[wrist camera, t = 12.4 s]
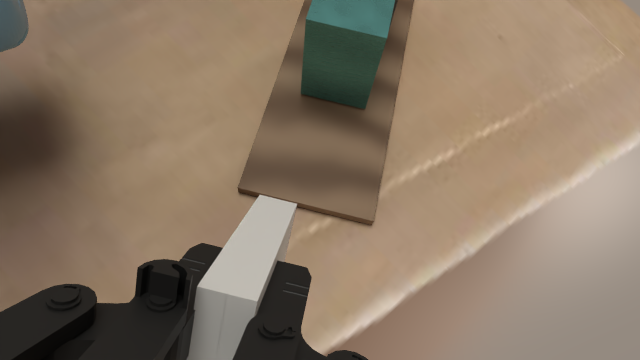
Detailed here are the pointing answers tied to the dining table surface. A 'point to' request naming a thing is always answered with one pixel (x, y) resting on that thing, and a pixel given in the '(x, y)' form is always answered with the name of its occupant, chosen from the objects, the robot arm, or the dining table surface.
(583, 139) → the dining table surface
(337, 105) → the walnut board
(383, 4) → the shaft
